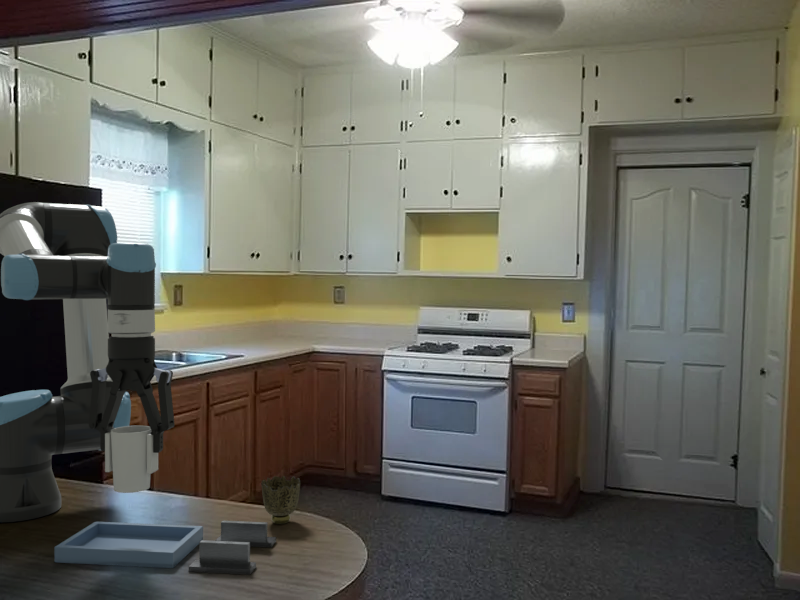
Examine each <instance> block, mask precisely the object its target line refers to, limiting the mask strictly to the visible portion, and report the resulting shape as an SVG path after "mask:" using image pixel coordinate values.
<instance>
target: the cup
mask: <svg viewBox="0 0 800 600" xmlns="http://www.w3.org/2000/svg"><path fill="white" fill-rule="evenodd" d="M260 484H261V492H262V493H261V494H262V499H263V507H264V509H265V511H266V512H267V513H268V514H269V515H270V516H271V517H270V520H271V522H272V523H273V524H276V525H284V524H287V523H289V522H290V520H291V514H293V513H294V512H295V511H296V509H297V507H298V504H299V497H300V493H301V492H300V489H301V480H300V478H299V477H297V478H296V477H295V476H292V477H291V478H290V480H289V479H286V476H285V475H283V476H281V477H279V476H278V475H277V476H276V475H274V476H273V477H272V478H269V477H267V479H263V480H262V479H261V483H260Z"/></svg>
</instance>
